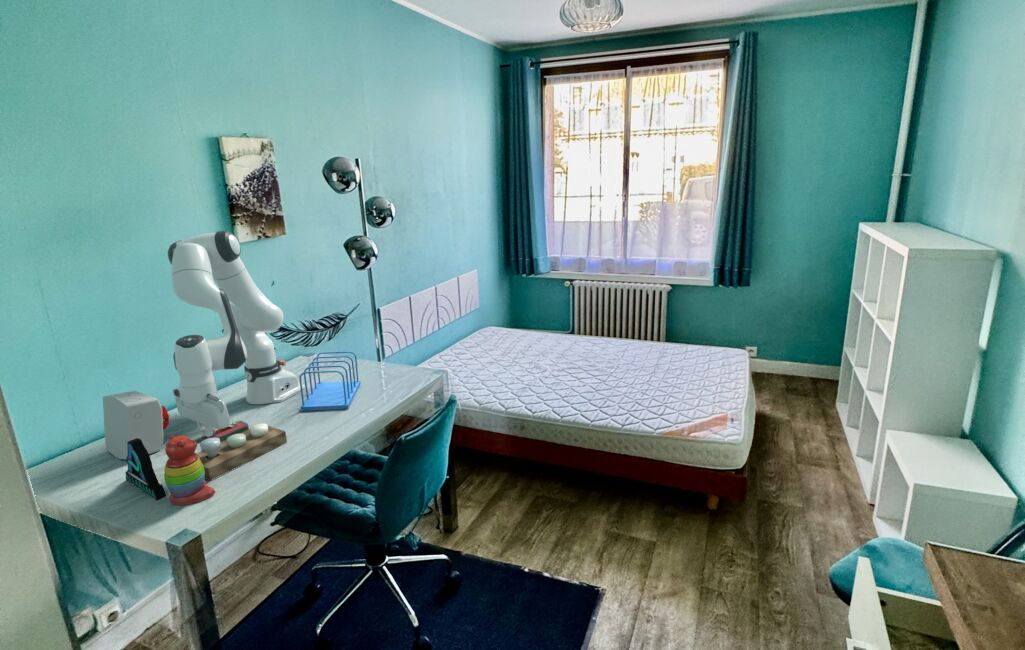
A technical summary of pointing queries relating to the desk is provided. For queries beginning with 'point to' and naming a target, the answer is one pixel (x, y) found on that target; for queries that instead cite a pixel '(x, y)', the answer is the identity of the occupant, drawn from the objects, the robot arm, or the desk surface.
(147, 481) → the decorative sign
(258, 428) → the cream knob
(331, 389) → the file sorter
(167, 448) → the stacking bear
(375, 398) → the desk surface
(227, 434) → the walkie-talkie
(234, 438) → the sage knob
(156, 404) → the electrical switch box
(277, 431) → the knob panel
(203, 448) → the grey knob
